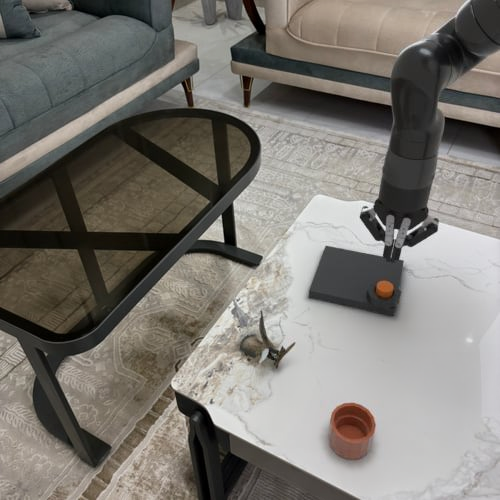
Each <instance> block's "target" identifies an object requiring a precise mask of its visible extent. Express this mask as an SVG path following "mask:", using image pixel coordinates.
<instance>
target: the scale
mask: <svg viewBox="0 0 500 500" xmlns="http://www.w3.org/2000/svg"><path fill="white" fill-rule="evenodd" d="M390 261H391V259H390ZM404 263H405V260H404V259H399V260H398V261H396V260H395V262H394V263H391V262H386V258H383V255H377V254H371V253H366V252H362V251H356V250H351V249H347V248H341V247H335V246H330V245H325V246H324V248H323V251H322V254H321V257H320V260H319V262H318V265H317V268H316V270H315V273H314V276H313V278H312V281H311V284H310V286H309V289H308V298H310V299H314V300H319V301H324V302H328V303H332V304H336V305H341V306H345V307H350V308H355V309H359V310H363V311H368V312H372V313H377V314H380V315H386V316H390V317H394V316H395V312H396V307H397V306H398V305H399V303H400V301H401V294H402V291H401V289H400V285H401V280H402V273H403V268H404ZM380 281H388V282H390V283H391V284H392V285H393V287H394V289H393V293H392V295H391V296H390V297H388V298H383V297H380V296H378V295H377V294H376V287H377V283H378V282H380Z"/></svg>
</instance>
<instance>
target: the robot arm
mask: <svg viewBox="0 0 500 500" xmlns="http://www.w3.org/2000/svg"><path fill="white" fill-rule="evenodd" d="M499 51H500V0H465V2H464V3H463V4H462V5H461V6H460V7H459V8H458V10H457V12H456V14H455V15H454V16H453V17H452V18H450V19H449V20H448V21H447V22H445V23H444V24H443V25H441V26H440V27H439V28H438V29H436V30H434V31H433V32H432V33H430V34H428V35H427V36H425V37H423V38H421V39H419V40H417V41H415V42H414V43H412V44H409V45H408V46H406V47H405V48H404V49H402V51H401V52H400V53H399V54H398V55H397V57H396V58H395V61H394V63H393V67H392V70H391V74H390V79H389V80H390V84H389V86H390V87H389V88H390V101H391V102H390V103H391V112H392V120H393V121H392V125H391V130H390V134H389V135H390V136H389V142H388V147H387V150H386V153H385V157H384V161H383V166H382V168H381V177H380V178H381V179H380V185H379V191H378V196H377V198H376V200H374V204H373V205H370V206H367V205H364V206H362V208H361V211H360V213H359V220H360V221H361V222H362V224H363V225H364V226H365V228H366V229H367V230H368V232H369V233H370V234H371V236H372V238H373V239H374V241H376V242H383V244H384V245H383V246H384V247H383V252H382V256H383V258H386V262H391V263H394V262H395V260H396V261H398V260H401V254H402V249H403V247H409V248H413V247H415V246H417V245H418V244H419V243H421V242H423V241H425V240H427V239H428V238H429V237H432V236H433V235H434V234H436V233H437V232H438V230H439V224H440V220H439V219H438V218H437V217H433V216H431V215H429V208H428V203H429V199H430V195H431V191H432V187H433V183H434V180H435V179H436V170H437V166H438V156H439V150H440V146H441V142H442V138H443V134H444V130H445V123H446V122H445V120H446V119H445V118H446V117H445V115H444V112H443V111H442V110H441V109H440V108H439V107H438V105H439V98H440V96H441V93H442V91H444V90H445V89H446V88H448V87H449V86H450V85H453V84H454V83H455V82H457V81H459V80H460V79H461V78H463V77H464V76H465V75H466V74H468V73H469V72H471V71H472V70H473V69H474V68H476V67H477V66H478V65H480V64H481V63H483V61H485V60H486V59H487V58H488V57H489V56H492V55H495V54H496V53H498V52H499ZM376 216H377V217H378V218H377V217H376ZM378 219H379V220H378ZM380 222H381V223H380ZM381 224H382V225H383V226H384V227H385V229H384V227H383V226H382V225H381ZM420 224H421V225H420ZM419 225H420V226H419ZM417 226H419V227H417ZM416 227H417V228H416ZM415 228H416V229H415ZM413 229H414V230H413ZM395 230H398V231H397V233H396V238H395ZM410 230H412V231H411V232H409V233H408V231H410ZM390 259H391V261H390Z"/></svg>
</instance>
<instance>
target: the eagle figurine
mask: <svg viewBox="0 0 500 500" xmlns="http://www.w3.org/2000/svg"><path fill="white" fill-rule="evenodd" d="M258 330H259V335H260V339H261V340H260V339H259V338H258V336H257V334H256V333H254V334H252V333H251V334H247V335H245V336H244V337H243V338H242V339H241V342H240V344H239V349H240V351H242V352H244V353H245V354H246V355H247V356H248V357H249V358H251V359H256V358H257V357H260V360H258V364H263V362H264V361H265V360H266V359H269V360H271V361H272V363H273V364H272V365H273V366H275V369H278V368H279V364H280V362H281V361H282V360H283V358H284V357H285V356H286V355H288V353H289V352H290V351H291V350H292V349H293V348H294V346H295V345H296V342H295V341H293V343H291V344H290V345H288V347H286V348H285V347H284V345H281V347H280V348H279V349H276V345H275V344H274V342H272V341H271V340H270V339H269V337H268V334H267V330H266V326H265V320H264V315H263V309H260V318H259V324H258Z"/></svg>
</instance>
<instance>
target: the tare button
mask: <svg viewBox="0 0 500 500" xmlns="http://www.w3.org/2000/svg"><path fill="white" fill-rule="evenodd" d="M393 289H394V287H393V285H392V284H391V283H390V282H388V281H380V282H378V283H377V287H376V294H377V295H378V296H380V297H383V298H388V297H390V296H391V295H392V293H393Z"/></svg>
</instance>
